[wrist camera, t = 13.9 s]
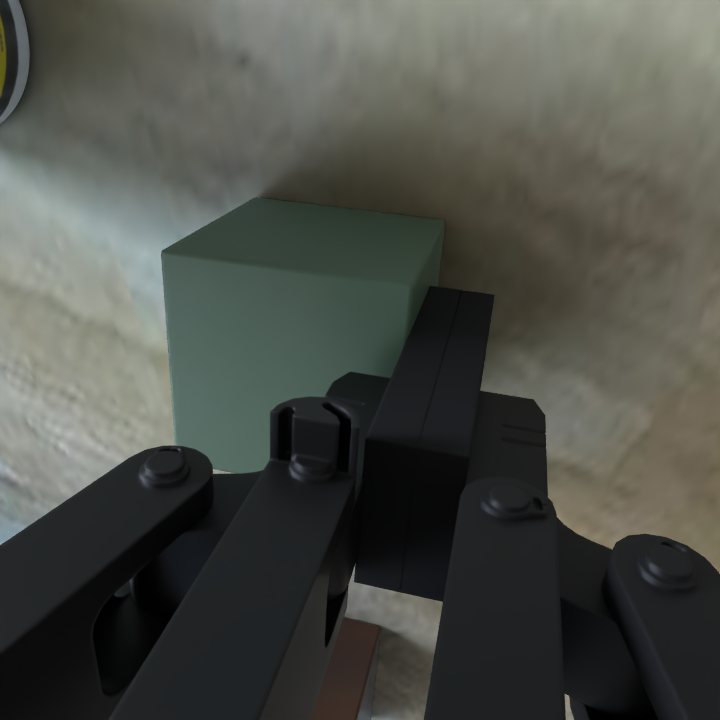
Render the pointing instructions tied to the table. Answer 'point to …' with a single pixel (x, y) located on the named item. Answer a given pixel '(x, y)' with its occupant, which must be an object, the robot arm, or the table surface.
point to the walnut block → (350, 674)
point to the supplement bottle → (12, 56)
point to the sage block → (285, 314)
